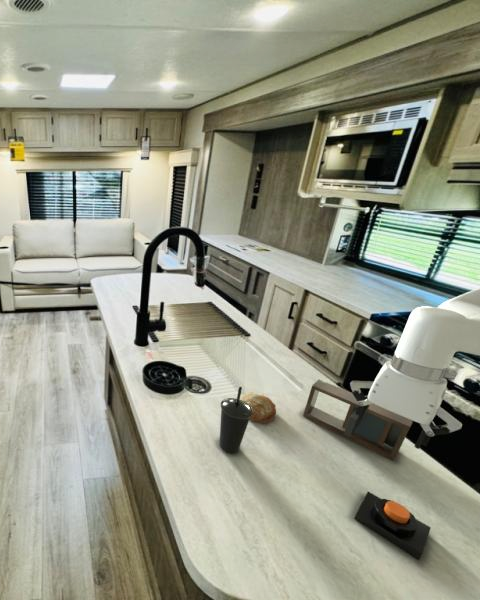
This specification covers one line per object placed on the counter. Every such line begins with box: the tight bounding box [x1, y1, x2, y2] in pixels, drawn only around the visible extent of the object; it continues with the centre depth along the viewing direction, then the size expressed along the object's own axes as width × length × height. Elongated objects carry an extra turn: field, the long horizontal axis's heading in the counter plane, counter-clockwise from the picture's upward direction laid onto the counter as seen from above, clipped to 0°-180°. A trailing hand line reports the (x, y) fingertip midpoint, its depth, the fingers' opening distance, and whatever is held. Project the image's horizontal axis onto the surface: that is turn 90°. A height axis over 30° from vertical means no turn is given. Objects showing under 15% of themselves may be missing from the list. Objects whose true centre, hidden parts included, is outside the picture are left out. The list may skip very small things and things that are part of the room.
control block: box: [353, 491, 432, 561], centre depth 65 cm, size 10×8×4 cm
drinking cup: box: [219, 386, 253, 455], centre depth 83 cm, size 8×8×20 cm
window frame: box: [302, 378, 414, 462], centre depth 88 cm, size 21×5×12 cm, turn 36°
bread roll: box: [240, 392, 277, 424], centre depth 98 cm, size 10×10×8 cm
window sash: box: [342, 404, 393, 446], centre depth 84 cm, size 9×7×8 cm
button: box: [384, 500, 411, 524], centre depth 65 cm, size 4×4×2 cm
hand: (387, 431), depth 70 cm, fingers open, 9 cm apart
